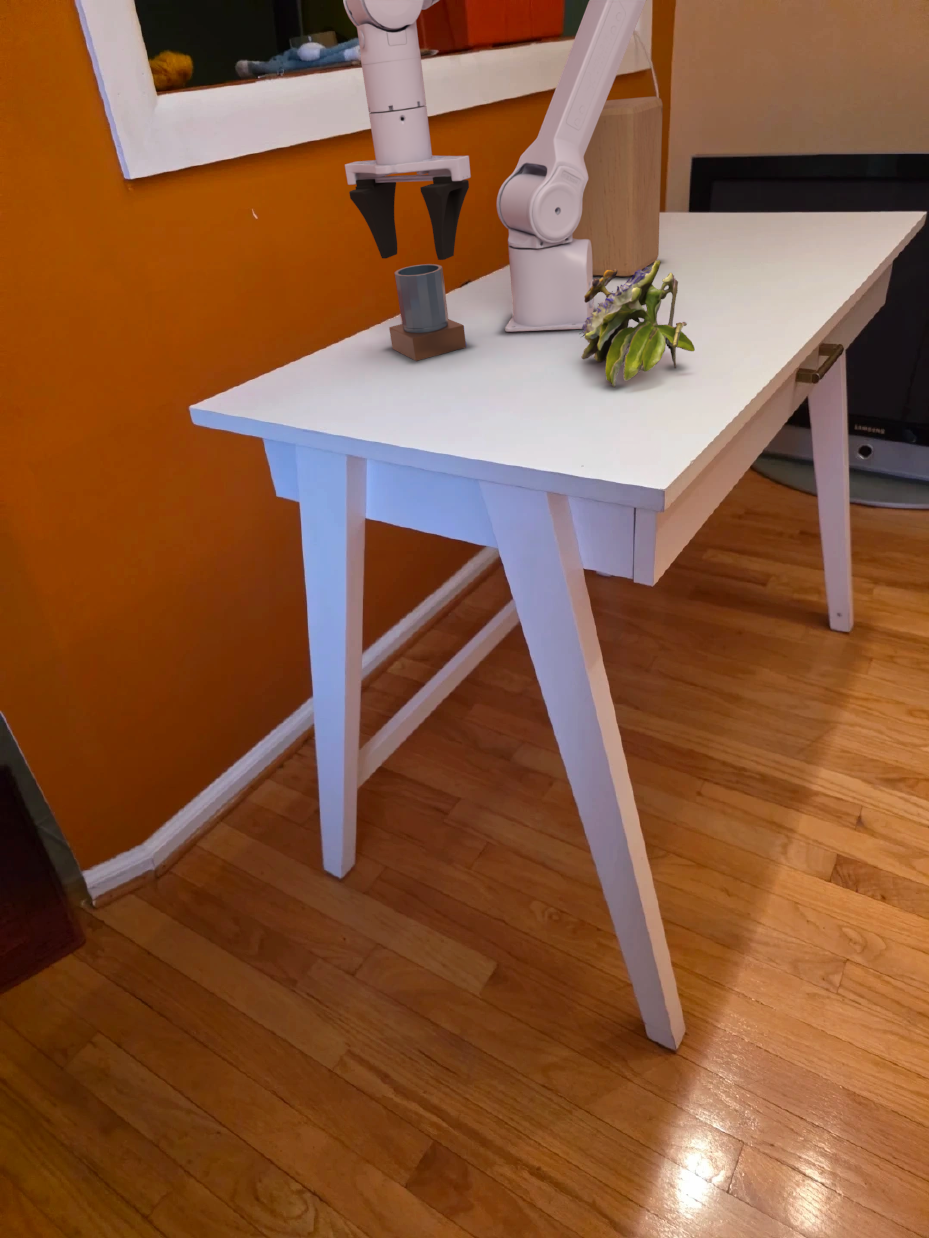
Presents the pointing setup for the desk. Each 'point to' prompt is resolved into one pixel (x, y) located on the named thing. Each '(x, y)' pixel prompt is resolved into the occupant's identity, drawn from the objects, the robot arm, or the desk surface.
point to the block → (428, 341)
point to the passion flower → (643, 340)
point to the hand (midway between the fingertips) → (417, 257)
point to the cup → (422, 298)
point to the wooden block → (623, 186)
